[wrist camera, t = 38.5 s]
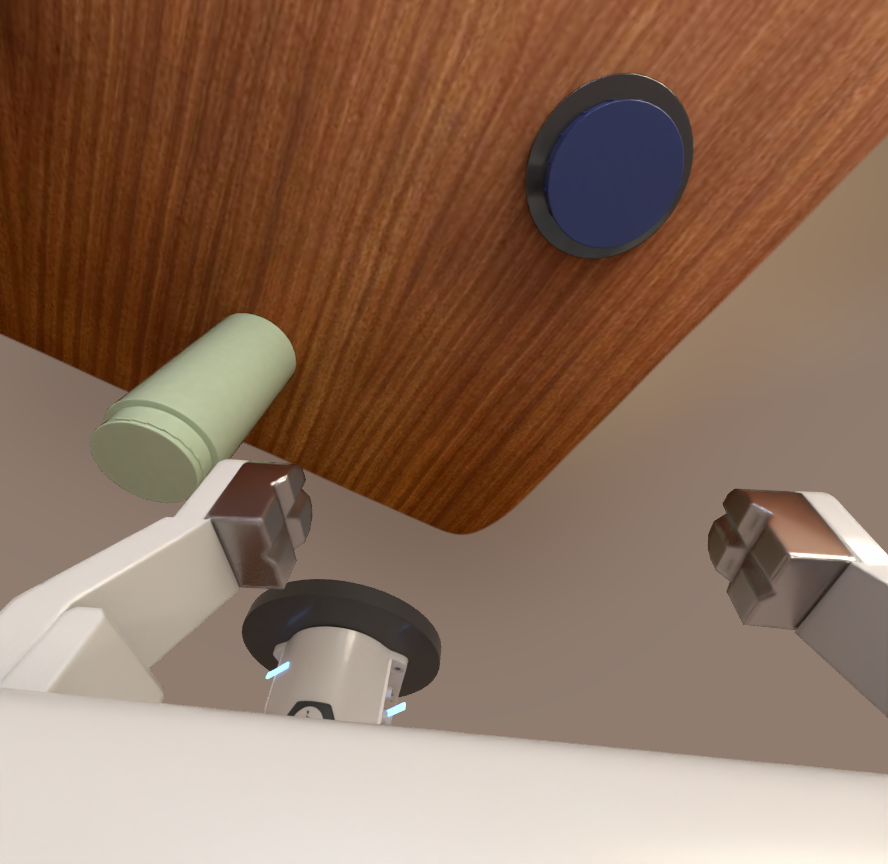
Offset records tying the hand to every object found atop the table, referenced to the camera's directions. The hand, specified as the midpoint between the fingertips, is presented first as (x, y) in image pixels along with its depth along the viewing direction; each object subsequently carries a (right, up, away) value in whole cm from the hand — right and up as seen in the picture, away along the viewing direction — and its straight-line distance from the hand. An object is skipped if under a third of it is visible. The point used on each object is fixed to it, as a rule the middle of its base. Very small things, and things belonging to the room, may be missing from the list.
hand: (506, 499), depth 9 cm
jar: (-16, +7, +26) cm, 31 cm away
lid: (+8, +15, +15) cm, 23 cm away
